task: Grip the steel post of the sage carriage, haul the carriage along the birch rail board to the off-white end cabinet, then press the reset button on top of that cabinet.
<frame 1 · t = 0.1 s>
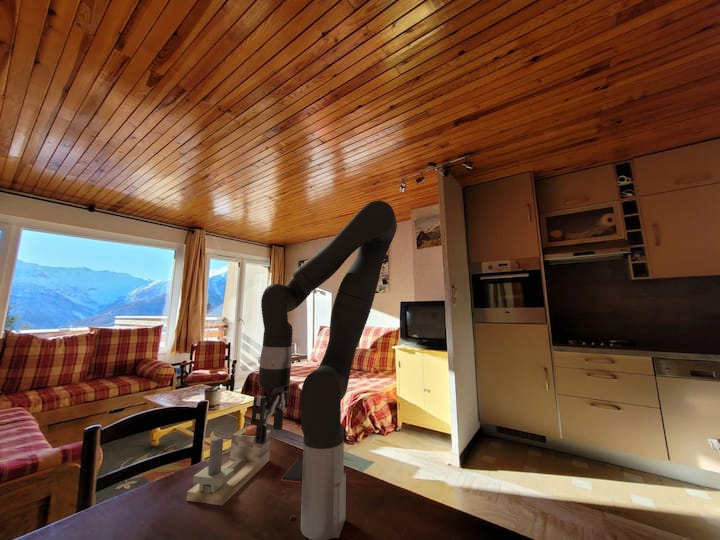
hand: (269, 435, 68), 17 cm above the table, tool pointing down, fingers open, 8 cm apart
reset button: (251, 432, 91), point 9 cm above the table, slide at 0.0 cm
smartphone: (300, 471, 86), on the table
rail base: (231, 478, 81), on the table
carriage: (215, 462, 75), point 8 cm above the table, slide at 0.0 cm
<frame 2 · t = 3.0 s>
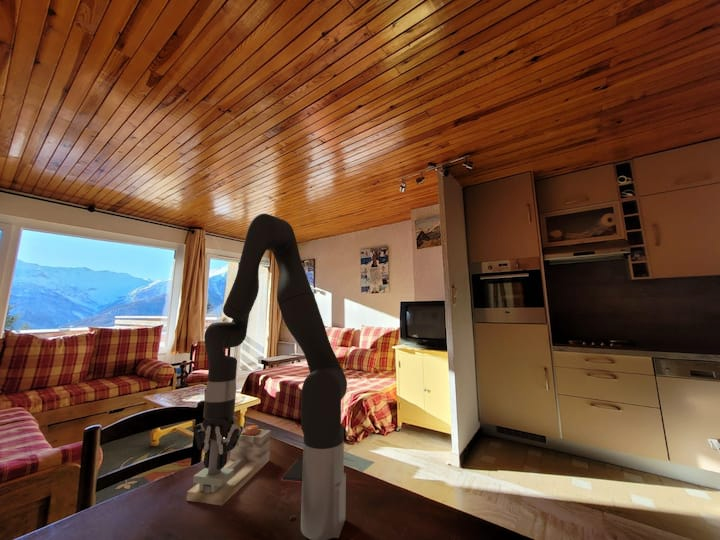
hand: (214, 467, 74), 7 cm above the table, tool pointing down, fingers closed on carriage, 3 cm apart
carriage: (215, 462, 75), point 8 cm above the table, slide at 0.0 cm, touching gripper
everything else where it was.
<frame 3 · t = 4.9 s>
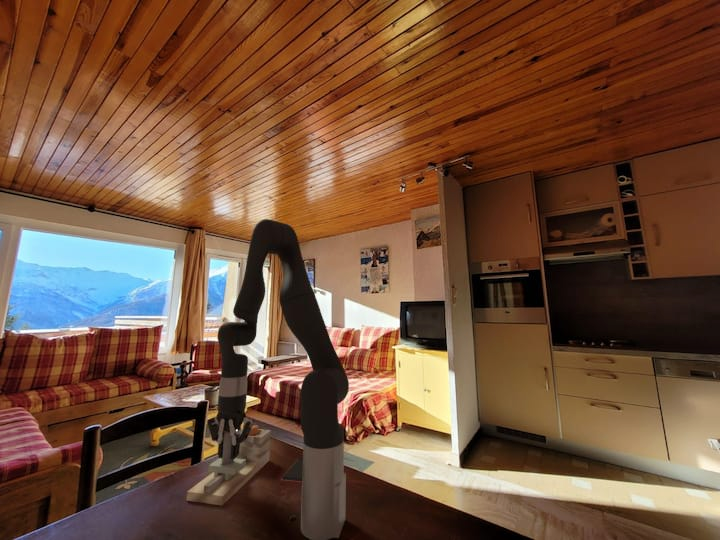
hand: (228, 457, 80), 7 cm above the table, tool pointing down, fingers closed on carriage, 3 cm apart
carriage: (228, 452, 80), point 8 cm above the table, slide at 5.5 cm, touching gripper
everything else where it was.
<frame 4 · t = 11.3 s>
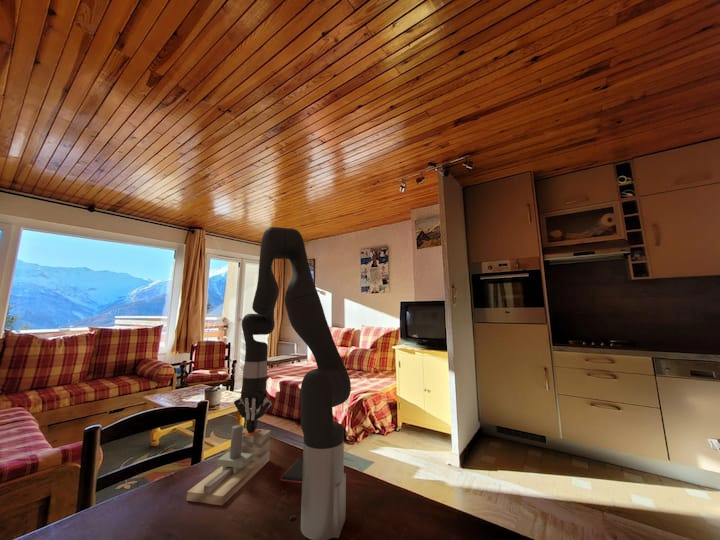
hand: (251, 431, 91), 9 cm above the table, tool pointing down, fingers closed
reset button: (251, 436, 91), point 8 cm above the table, slide at 1.3 cm, touching gripper
carriage: (236, 447, 83), point 8 cm above the table, slide at 8.9 cm
everything else where it was.
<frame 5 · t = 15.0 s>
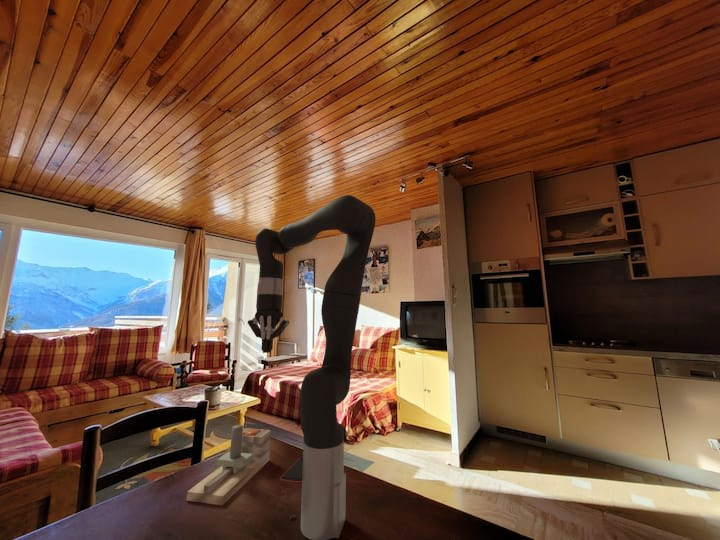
hand: (266, 352, 84), 35 cm above the table, tool pointing down, fingers closed
reset button: (251, 436, 91), point 8 cm above the table, slide at 1.3 cm
everything else where it was.
at the end: carriage slide at 8.9 cm; reset button slide at 1.3 cm; the gripper is holding nothing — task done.
